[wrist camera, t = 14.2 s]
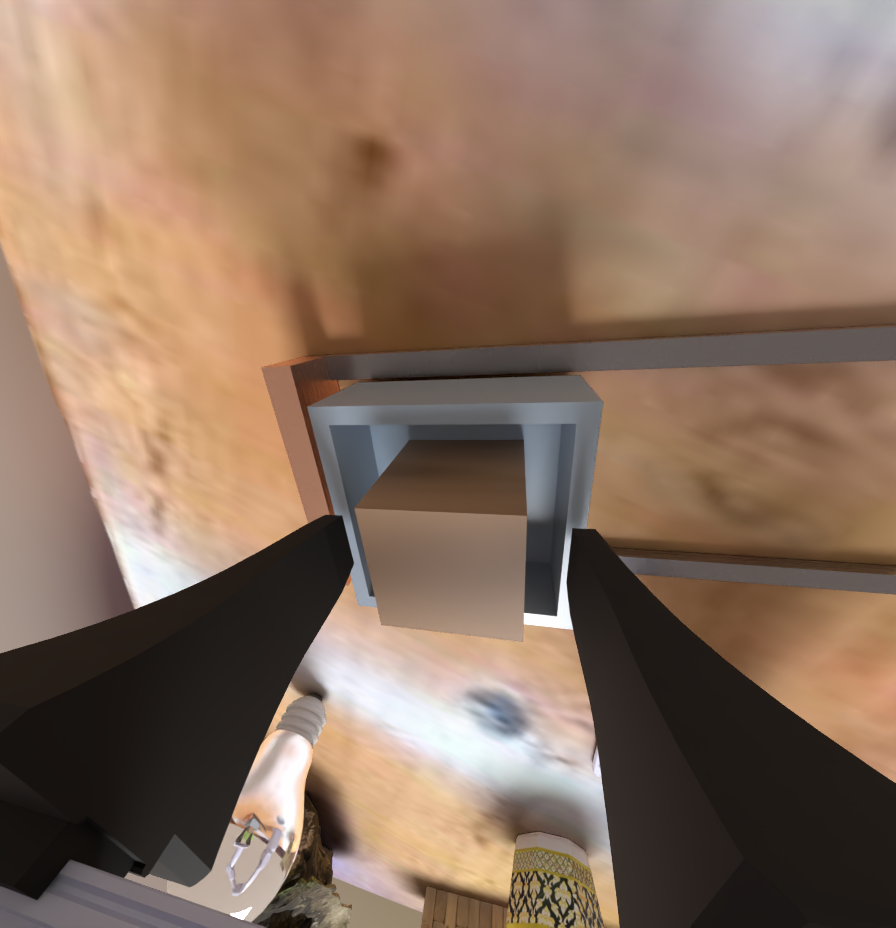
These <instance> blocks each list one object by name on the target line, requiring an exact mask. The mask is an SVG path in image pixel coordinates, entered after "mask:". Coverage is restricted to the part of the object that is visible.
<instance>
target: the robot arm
mask: <svg viewBox="0 0 896 928" xmlns="http://www.w3.org/2000/svg"><path fill="white" fill-rule="evenodd" d="M353 565H354V561H353V557H352V553H351V549H350V545H349V541H348V536H347V532H346V528H345V524H344V520H343V516H342V515H324V516H322V517H320V518H318V519H316V520H314V521H312V522H310V523H308V524H306V525H305V526H303V527H301V528H299V529H298V530H296V531H294V532H293V533H291V534H289V535H287V536H286V537H284V538H282V539H280V540H279V541H277V542H275V543H273V544H272V545H270V546H268V547H266V548H265V549H263V550H261V551H259V552H258V553H256V554H254V555H252V556H250V557H248V558H246V559H245V560H243V561H241V562H239V563H237V564H235V565H233V566H232V567H230V568H228V569H226V570H224V571H222V572H220V573H218V574H216V575H214V576H212V577H210V578H208V579H206V580H204V581H201V582H199V583H197V584H195V585H193V586H190V587H188V588H186V589H184V590H182V591H179V592H177V593H175V594H172V595H170V596H167V597H165V598H162V599H160V600H157V601H155V602H152V603H150V604H147V605H145V606H143V607H140V608H138V609H135V610H133V611H130V612H127V613H125V614H122V615H119V616H117V617H114V618H111V619H108V620H105V621H103V622H100V623H97V624H94V625H91V626H88V627H85V628H82V629H79V630H76V631H73V632H70V633H67V634H64V635H61V636H58V637H55V638H51V639H48V640H44V641H41V642H38V643H35V644H31V645H27V646H24V647H21V648H17V649H14V650H10V651H7V652H4V653H0V928H266V927H263V926H260V925H257V924H255V923H252V922H249V921H246V920H243V919H240V918H237V917H234V916H232V915H229V914H226V913H223V912H220V911H217V910H214V909H211V908H209V907H206V906H203V905H200V904H197V903H194V902H191V901H188V900H185V899H183V898H180V897H177V896H174V895H171V894H168V893H165V892H162V891H160V890H157V889H154V888H151V887H148V886H145V885H142V884H139V883H136V882H134V881H131V880H128V879H125V878H124V877H125V876H126V874H127V873H128V872H129V873H132V874H135V875H138V876H141V877H146V876H147V875H148V874H151V875H154V876H157V877H160V878H163V879H166V880H169V881H172V882H175V883H178V884H181V885H184V886H187V887H192V886H194V885H196V884H197V883H199V882H200V881H201V880H202V879H204V878H205V877H206V876H207V875H208V874H209V873H210V872H211V871H212V868H213V865H214V863H215V860H216V857H217V854H218V851H219V849H220V846H221V843H222V841H223V838H224V836H225V833H226V830H227V828H228V825H229V823H230V820H231V817H232V815H233V812H234V809H235V807H236V804H237V802H238V799H239V796H240V794H241V791H242V789H243V787H244V784H245V782H246V779H247V777H248V775H249V772H250V770H251V768H252V765H253V763H254V760H255V758H256V756H257V753H258V751H259V748H260V746H261V744H262V742H263V739H264V737H265V735H266V733H267V730H268V728H269V726H270V724H271V722H272V719H273V717H274V715H275V713H276V711H277V708H278V706H279V704H280V702H281V700H282V698H283V696H284V694H285V692H286V690H287V688H288V685H289V683H290V681H291V679H292V677H293V675H294V673H295V671H296V669H297V668H298V666H299V664H300V662H301V660H302V659H303V657H304V655H305V653H306V652H307V650H308V648H309V647H310V645H311V643H312V642H313V640H314V638H315V637H316V635H317V633H318V632H319V630H320V629H321V627H322V625H323V624H324V622H325V620H326V619H327V617H328V615H329V614H330V612H331V610H332V608H333V607H334V605H335V603H336V602H337V600H338V598H339V596H340V595H341V593H342V591H343V589H344V587H345V584H346V582H347V580H348V578H349V575H350V573H351V570H352V568H353ZM566 584H567V593H568V602H569V611H570V618H571V622H572V627H573V631H574V635H575V640H576V644H577V648H578V653H579V657H580V661H581V666H582V670H583V674H584V679H585V683H586V687H587V692H588V696H589V700H590V705H591V711H592V716H593V721H594V728H595V735H596V742H597V747H596V751H595V755H594V760H593V764H592V768H593V773H594V774H595V775H597V776H599V777H602V785H603V792H604V800H605V807H606V815H607V822H608V830H609V839H610V847H611V855H612V863H613V871H614V880H615V888H616V896H617V905H618V914H619V923H620V928H896V783H894V782H893V781H891V780H890V779H888V778H887V777H885V776H884V775H882V774H881V773H879V772H878V771H876V770H875V769H873V768H872V767H870V766H869V765H868V764H866V763H865V762H863V761H862V760H860V759H859V758H857V757H856V756H855V755H853V754H852V753H850V752H849V751H847V750H846V749H844V748H843V747H842V746H840V745H839V744H837V743H836V742H834V741H833V740H831V739H830V738H829V737H827V736H826V735H824V734H823V733H821V732H820V731H818V730H817V729H816V728H814V727H813V726H812V725H810V724H809V723H807V722H806V721H805V720H803V719H802V718H801V717H799V716H798V715H796V714H795V713H794V712H792V711H791V710H789V709H788V708H787V707H785V706H784V705H783V704H781V703H780V702H779V701H777V700H776V699H775V698H774V697H772V696H771V695H770V694H768V693H767V692H766V691H764V690H763V689H762V688H760V687H759V686H758V685H757V684H755V683H754V682H753V681H751V680H750V679H749V678H747V677H746V676H745V675H743V674H742V673H741V672H740V671H738V670H737V669H736V668H735V667H734V666H732V665H731V664H730V663H729V662H727V661H726V660H725V659H724V658H722V657H721V656H720V655H719V654H718V653H716V652H715V651H714V650H713V649H712V648H711V647H709V646H708V645H707V644H706V643H705V642H704V641H702V640H701V639H700V638H699V637H698V636H697V635H695V634H694V633H693V632H692V631H691V630H690V629H689V628H688V627H686V626H685V625H684V624H683V623H682V622H681V621H680V620H679V619H678V618H677V617H676V616H675V615H674V614H672V613H671V612H670V611H669V610H668V609H667V608H666V607H665V606H664V605H663V604H662V603H661V602H660V601H659V600H658V599H657V598H656V597H655V596H654V595H653V594H652V593H651V592H650V591H649V590H648V588H647V587H646V586H645V585H644V584H643V583H642V582H641V581H640V580H639V579H638V578H637V577H636V576H635V575H634V573H633V572H632V571H631V570H630V569H629V568H628V567H627V566H626V565H625V563H624V562H623V561H622V560H621V559H620V558H619V557H618V555H617V554H616V553H615V552H614V551H613V550H612V548H611V547H610V546H609V545H608V544H607V542H606V541H605V540H604V539H603V538H602V536H601V535H600V534H599V533H598V532H597V531H596V530H595V529H580V528H572V535H571V544H570V553H569V562H568V571H567V580H566Z"/></svg>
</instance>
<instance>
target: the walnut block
mask: <svg viewBox="0 0 896 928" xmlns="http://www.w3.org/2000/svg"><path fill="white" fill-rule="evenodd" d="M354 509H355V513H356V517H357V522H358V526H359V530H360V535H361V539H362V543H363V547H364V552H365V556H366V560H367V565H368V569H369V573H370V578H371V582H372V586H373V591H374V595H375V599H376V604H377V608H378V612H379V616H380V621H381V625H386V626H394V627H402V628H411V629H419V630H427V631H435V632H444V633H452V634H460V635H469V636H477V637H485V638H493V639H502V640H510V641H518V642H523V629H524V598H525V566H526V535H527V501H526V477H525V453H524V440H409V441H408V442H407V443H406V445H405V446H404V447H403V448H402V450H401V451H400V452H399V453H398V455H397V456H396V457H395V458H394V460H393V461H392V462H391V463H390V464H389V466H388V467H387V468H386V469H385V471H384V472H383V473H382V474H381V476H380V477H379V478H378V479H377V481H376V482H375V483H374V484H373V486H372V487H371V488H370V489H369V491H368V492H367V493H366V494H365V496H364V497H363V498H362V499H361V501H360V502H359V503H358V504H357V506H356V507H355V508H354Z"/></svg>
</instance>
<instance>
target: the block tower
mask: <svg viewBox="0 0 896 928" xmlns="http://www.w3.org/2000/svg"><path fill="white" fill-rule="evenodd" d="M507 911H508V908H505V907H502V906H498V905H494V904H490V903H487V902H484V901H479V900H476V899H473V898H468V897H465V896H461V895H457V894H454V893H450V892H446V891H442V890H439V889H438V890H437V889H435V888H431V887H427V888H426V895H425V902H424V909H423V917H422V924H421V928H505V925H506V918H507Z"/></svg>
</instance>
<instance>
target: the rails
mask: <svg viewBox="0 0 896 928" xmlns="http://www.w3.org/2000/svg"><path fill="white" fill-rule="evenodd" d="M882 360H896V325H879V326H860V327H841V328H822V329H804V330H785V331H766V332H747V333H728V334H709V335H691V336H672V337H653V338H634V339H615V340H597V341H578V342H559V343H540V344H521V345H502V346H484V347H465V348H446V349H427V350H408V351H390V352H371V353H352V354H333V355H314V356H305V357H301V358H297V359H293V360H289V361H285V362H280V363H276V364H272V365H268V366H264V367H261V369H262V372H263V375H264V379H265V382H266V385H267V388H268V392H269V395H270V398H271V402H272V405H273V408H274V412H275V415H276V418H277V421H278V425H279V428H280V431H281V435H282V438H283V441H284V444H285V448H286V451H287V454H288V458H289V461H290V464H291V468H292V471H293V474H294V477H295V481H296V484H297V487H298V491H299V494H300V497H301V501H302V504H303V507H304V510H305V514H306V517H307V520H308V523H310V522H312V521H314V520H316V519H318V518H320V517H322V516H324V515H335V513H334V509H333V505H332V501H331V497H330V494H329V490H328V486H327V482H326V478H325V474H324V470H323V466H322V463H321V459H320V455H319V451H318V447H317V443H316V439H315V435H314V432H313V428H312V424H311V420H310V416H309V412H308V408H307V407H308V406H310V405H312V404H314V403H316V402H318V401H320V400H322V399H324V398H326V397H328V396H331V395H333V394H335V393H337V392H339V387H338V382H337V380H352V379H380V378H408V377H436V376H464V375H492V374H520V373H548V372H575V371H603V370H631V369H659V368H687V367H715V366H743V365H770V364H798V363H826V362H854V361H882ZM612 550H613V551H614V552H615V553H616V554H617V555H618V557H619V558H620V559H621V560H622V561H623V562H624V563H625V565H626V566H627V567H628V568H629V569H630V570H631V571H632V572H633V573H634V574H641V575H654V576H667V577H680V578H692V579H705V580H718V581H731V582H743V583H756V584H769V585H782V586H795V587H807V588H820V589H833V590H846V591H858V592H871V593H884V594H896V566H888V565H873V564H857V563H842V562H826V561H811V560H795V559H780V558H764V557H749V556H733V555H718V554H702V553H687V552H671V551H656V550H640V549H625V548H612ZM351 580H352V579H351V575H349V578H348V580H347V582H346V584H345V585H349V584H350V582H351Z"/></svg>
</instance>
